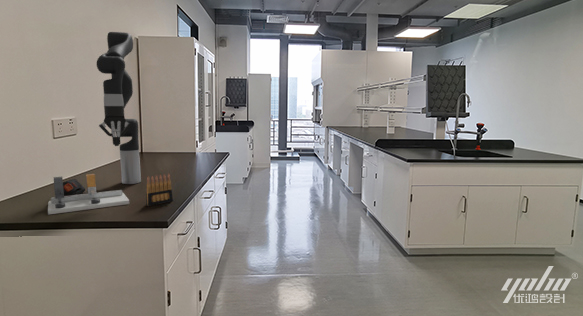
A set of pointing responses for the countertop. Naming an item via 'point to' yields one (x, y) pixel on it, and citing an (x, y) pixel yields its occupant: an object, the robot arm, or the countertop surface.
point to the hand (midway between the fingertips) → (116, 145)
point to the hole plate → (87, 204)
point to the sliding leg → (91, 184)
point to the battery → (72, 187)
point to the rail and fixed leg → (61, 198)
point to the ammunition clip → (158, 190)
